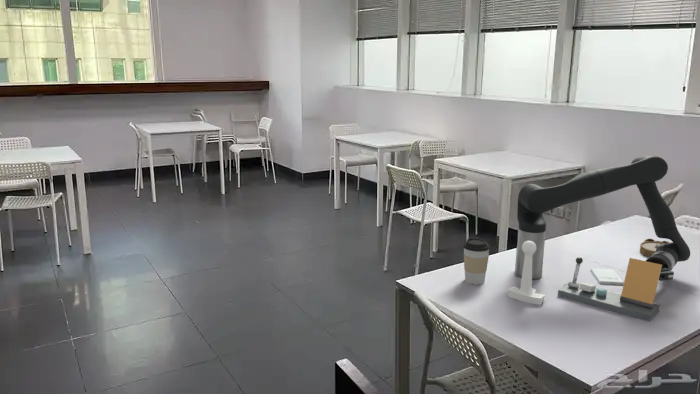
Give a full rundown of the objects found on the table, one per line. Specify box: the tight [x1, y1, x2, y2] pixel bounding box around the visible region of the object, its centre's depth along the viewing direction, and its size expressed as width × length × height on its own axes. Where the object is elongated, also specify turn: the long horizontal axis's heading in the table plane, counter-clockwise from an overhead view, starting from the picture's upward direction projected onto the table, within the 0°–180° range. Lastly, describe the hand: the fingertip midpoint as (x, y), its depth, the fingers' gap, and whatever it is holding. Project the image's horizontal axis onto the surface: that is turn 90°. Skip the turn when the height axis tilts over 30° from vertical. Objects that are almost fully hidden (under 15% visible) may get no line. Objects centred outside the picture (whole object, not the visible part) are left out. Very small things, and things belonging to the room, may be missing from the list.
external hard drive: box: [590, 267, 624, 286], centre depth 198 cm, size 2×8×12 cm
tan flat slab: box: [620, 257, 662, 309], centre depth 171 cm, size 9×2×14 cm, turn 47°
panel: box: [557, 280, 661, 322], centre depth 177 cm, size 28×10×2 cm, turn 47°
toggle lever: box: [567, 256, 584, 289], centre depth 184 cm, size 3×2×10 cm
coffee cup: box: [462, 237, 490, 285], centre depth 194 cm, size 9×9×15 cm
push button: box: [596, 287, 608, 297], centre depth 178 cm, size 3×3×2 cm
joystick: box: [507, 241, 546, 306], centre depth 179 cm, size 11×8×20 cm
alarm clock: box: [639, 238, 670, 258], centre depth 224 cm, size 11×5×15 cm
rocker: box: [579, 282, 597, 292], centre depth 181 cm, size 4×4×2 cm
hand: (644, 278), depth 174 cm, fingers closed
